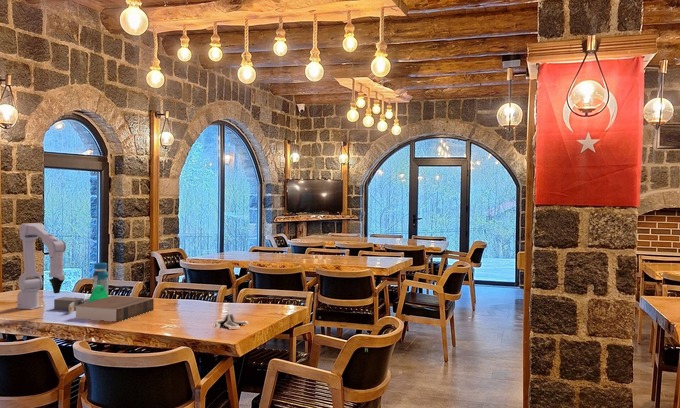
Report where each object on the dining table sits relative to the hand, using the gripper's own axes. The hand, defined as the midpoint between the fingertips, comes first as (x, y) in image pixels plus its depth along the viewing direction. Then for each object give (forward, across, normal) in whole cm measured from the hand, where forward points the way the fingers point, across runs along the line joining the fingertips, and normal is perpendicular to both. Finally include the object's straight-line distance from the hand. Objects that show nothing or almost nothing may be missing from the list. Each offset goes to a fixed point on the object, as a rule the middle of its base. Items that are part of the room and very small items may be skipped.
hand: (56, 293), depth 273 cm
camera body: (+10, +9, -10) cm, 17 cm away
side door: (+10, -1, -7) cm, 13 cm away
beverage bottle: (+11, +26, -34) cm, 44 cm away
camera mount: (+11, +8, -26) cm, 30 cm away
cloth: (+11, -79, -45) cm, 91 cm away
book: (+11, -20, -20) cm, 31 cm away
